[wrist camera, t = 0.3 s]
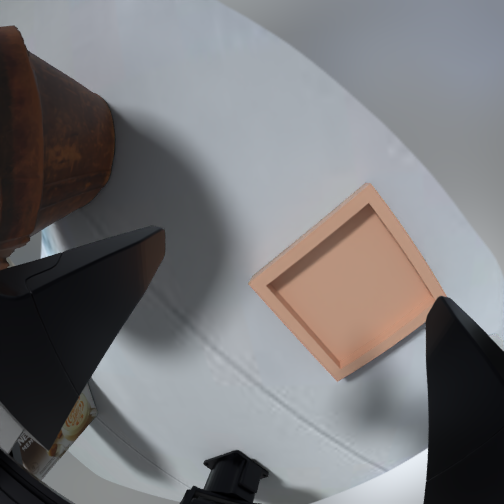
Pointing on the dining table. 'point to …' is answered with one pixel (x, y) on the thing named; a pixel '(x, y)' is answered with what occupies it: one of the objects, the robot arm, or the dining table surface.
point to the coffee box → (58, 437)
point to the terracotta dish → (350, 284)
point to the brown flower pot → (46, 144)
